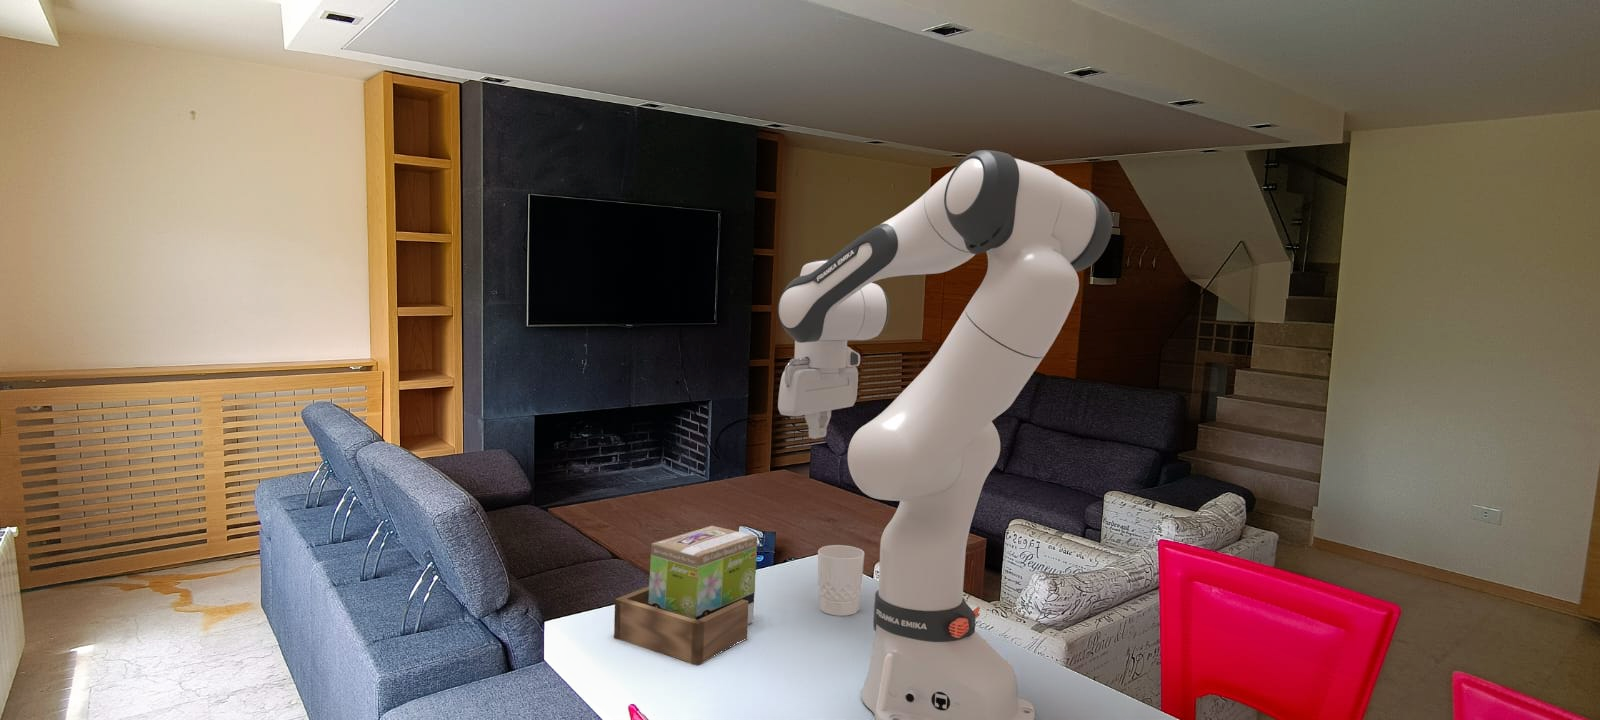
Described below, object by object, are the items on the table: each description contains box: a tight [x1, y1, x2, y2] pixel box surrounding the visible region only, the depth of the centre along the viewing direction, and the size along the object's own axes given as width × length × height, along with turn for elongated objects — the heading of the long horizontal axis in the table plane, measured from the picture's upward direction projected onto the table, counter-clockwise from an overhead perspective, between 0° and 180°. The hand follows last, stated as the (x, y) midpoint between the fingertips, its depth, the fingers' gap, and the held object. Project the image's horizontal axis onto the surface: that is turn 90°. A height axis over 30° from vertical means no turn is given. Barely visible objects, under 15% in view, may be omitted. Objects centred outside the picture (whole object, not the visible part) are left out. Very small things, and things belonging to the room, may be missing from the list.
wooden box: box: [613, 585, 749, 666], centre depth 134 cm, size 16×12×6 cm
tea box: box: [648, 525, 758, 625], centre depth 137 cm, size 15×10×15 cm
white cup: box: [817, 544, 865, 617], centre depth 148 cm, size 8×8×10 cm
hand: (817, 437), depth 148 cm, fingers closed
